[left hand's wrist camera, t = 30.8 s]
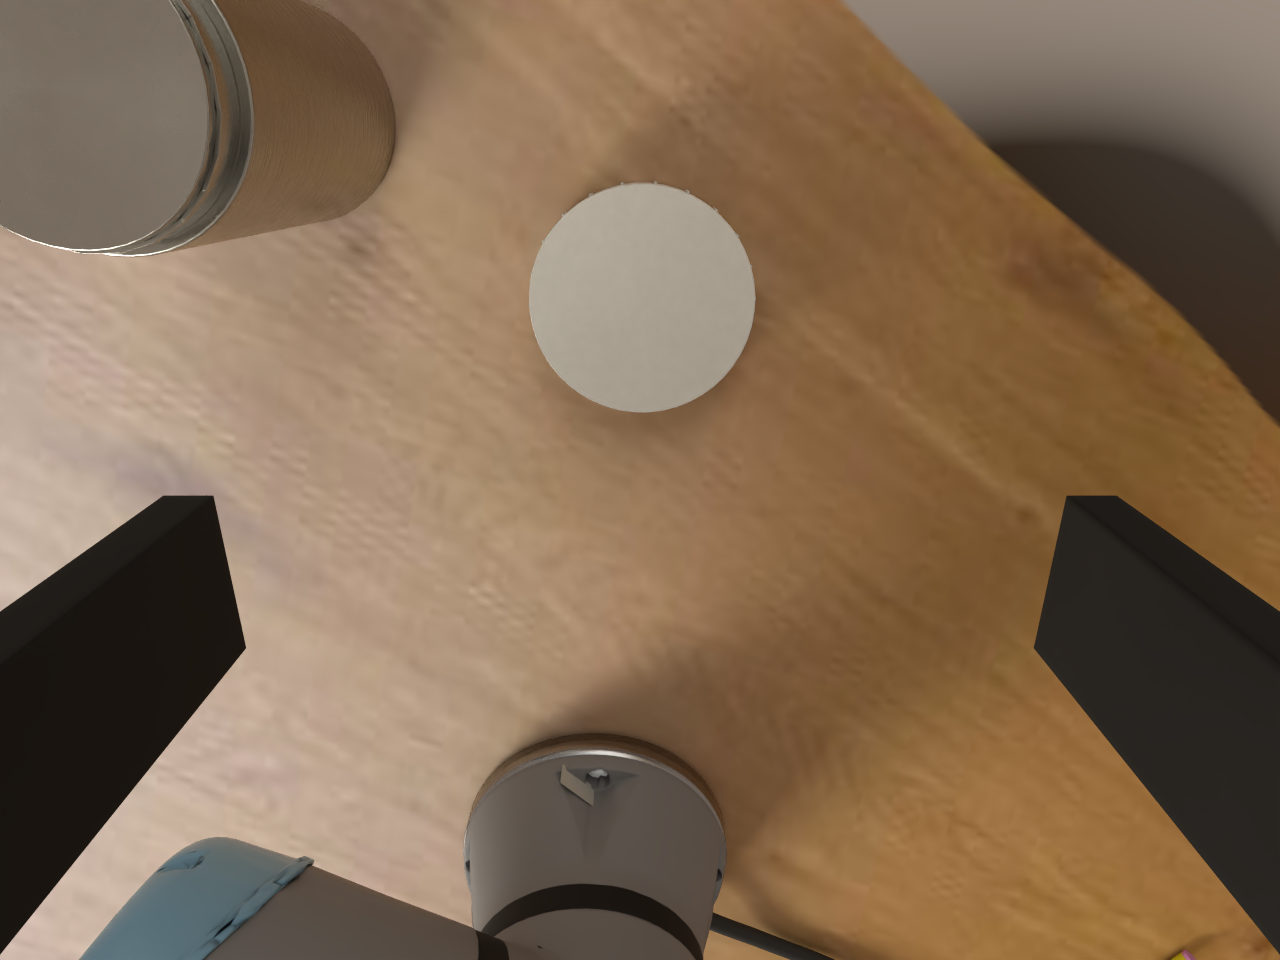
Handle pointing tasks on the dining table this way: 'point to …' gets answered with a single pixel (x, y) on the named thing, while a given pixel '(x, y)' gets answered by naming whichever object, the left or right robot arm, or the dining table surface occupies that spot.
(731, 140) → the dining table surface
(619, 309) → the lid
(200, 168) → the jar
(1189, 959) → the pencil
